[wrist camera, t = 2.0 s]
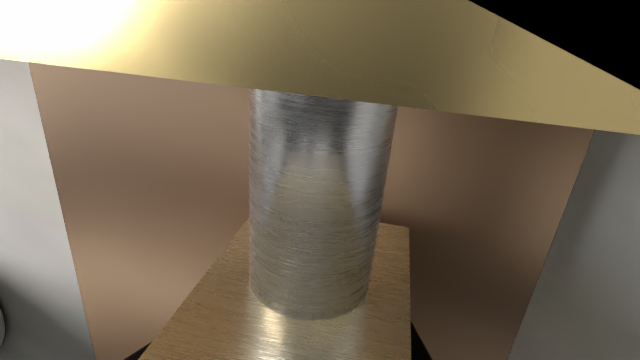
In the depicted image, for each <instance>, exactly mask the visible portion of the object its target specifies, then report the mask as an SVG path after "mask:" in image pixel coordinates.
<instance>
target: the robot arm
mask: <svg viewBox="0 0 640 360" xmlns="http://www.w3.org/2000/svg"><path fill="white" fill-rule="evenodd" d="M410 321H411V320H410ZM150 344H151V342H150V343H148V344H147V345H145V346H144V347H142V348H141V349H139V350H137V351H136V352H134V353H133V354H131V355H130V356H128V357H126V358H125V359H123V360H138V359H139V358H140V357H141V355H142V354H143V353H144V351H145V350H146V349H147V348H148V346H149V345H150ZM411 360H432V358H431V356H430V354H429V352H428V351H427V349H426V347H425V345H424V343H423V341H422V340H421V338H420V336H419V334H418V332H417V330H416V329H415V327H414V325H413V323H412V321H411Z"/></svg>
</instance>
